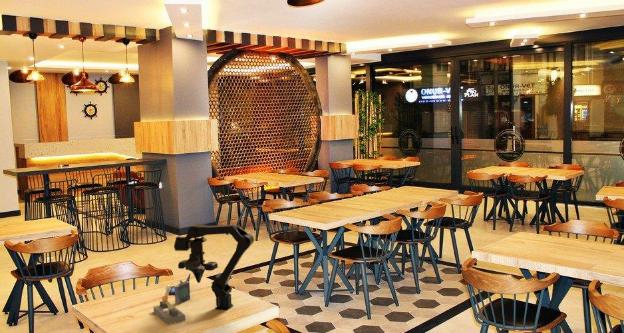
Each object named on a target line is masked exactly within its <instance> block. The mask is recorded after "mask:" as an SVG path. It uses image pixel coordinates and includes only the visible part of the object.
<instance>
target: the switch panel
mask: <svg viewBox="0 0 624 333" xmlns="http://www.w3.org/2000/svg"><path fill="white" fill-rule="evenodd" d="M162 303H163V301H162V300H161V301H159V305H155V306H153V307H152V308H153V312H154V314H155V315H157V317H159V319H161V320H162V321H164V323H166V324H167V325H171V323H172V324H175V322H176V323H179V321H180V322H184V321H186V315H185V313H183V311H181V310H179V308H177V307H176V306H174V305H173V304H172V303H170V305H171V306H172V308H173V309H174V311H172V313H171V311H170V309H169V307H168V306H167V304H166V303H163V304H162ZM183 320H184V321H183Z"/></svg>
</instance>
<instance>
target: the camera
mask: <svg viewBox="0 0 624 333" xmlns="http://www.w3.org/2000/svg"><path fill="white" fill-rule="evenodd" d="M190 279H191V273H189V274H188V276H187V278H186V280H185V281H188V282H190ZM174 286H175V285H172V286H171V290H170V291H169V294H168V296H169V295H170V296H175V288H174Z"/></svg>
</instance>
